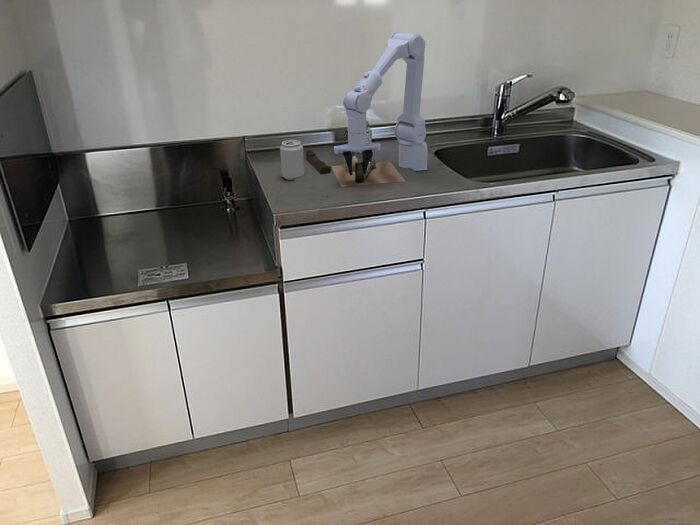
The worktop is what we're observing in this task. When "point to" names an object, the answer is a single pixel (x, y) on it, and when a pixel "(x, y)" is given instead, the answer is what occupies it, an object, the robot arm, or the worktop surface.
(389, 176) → the board
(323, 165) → the hand tool
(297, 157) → the can
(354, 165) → the beige cylinder plug
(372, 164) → the lever
